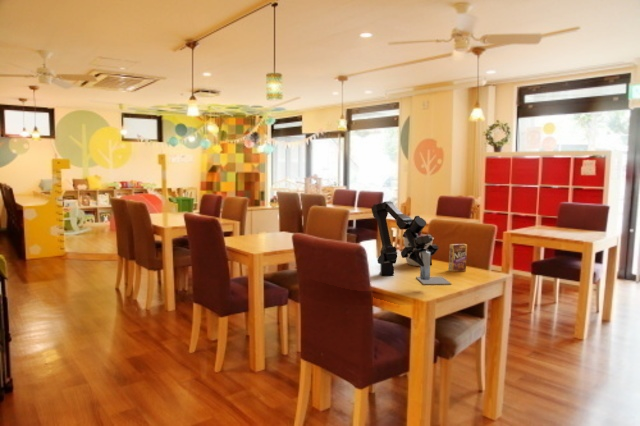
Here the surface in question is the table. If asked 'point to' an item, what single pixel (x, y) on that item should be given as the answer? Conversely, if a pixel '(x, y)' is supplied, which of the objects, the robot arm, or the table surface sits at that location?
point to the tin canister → (425, 265)
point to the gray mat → (434, 281)
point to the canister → (419, 253)
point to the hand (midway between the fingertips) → (427, 265)
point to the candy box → (457, 257)
